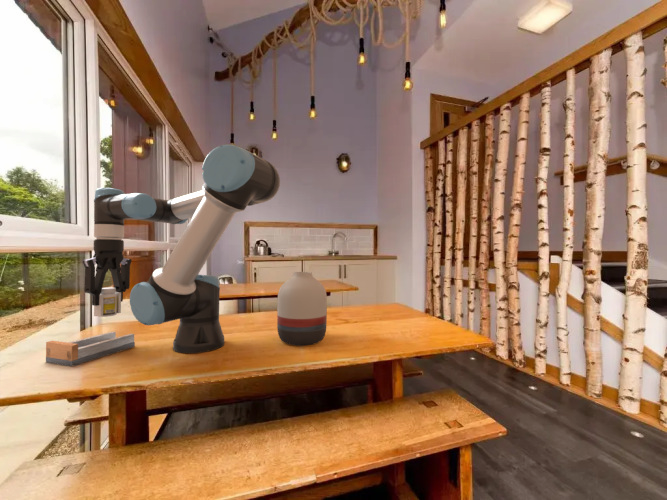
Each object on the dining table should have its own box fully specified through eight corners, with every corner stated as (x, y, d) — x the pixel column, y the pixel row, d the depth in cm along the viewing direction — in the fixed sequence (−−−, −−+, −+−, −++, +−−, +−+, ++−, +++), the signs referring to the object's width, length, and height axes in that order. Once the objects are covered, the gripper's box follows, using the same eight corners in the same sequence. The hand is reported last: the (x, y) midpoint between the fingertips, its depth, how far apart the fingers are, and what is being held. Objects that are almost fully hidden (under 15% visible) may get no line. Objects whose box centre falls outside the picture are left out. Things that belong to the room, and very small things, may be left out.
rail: (134, 346, 97) (134, 329, 97) (71, 366, 80) (71, 345, 80) (111, 343, 100) (111, 326, 100) (45, 362, 83) (46, 342, 83)
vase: (315, 351, 94) (316, 274, 94) (267, 345, 99) (268, 273, 100) (333, 337, 110) (333, 271, 110) (291, 332, 115) (291, 270, 116)
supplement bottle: (104, 313, 96) (105, 287, 96) (120, 313, 96) (120, 287, 96) (93, 317, 91) (94, 289, 91) (110, 316, 91) (111, 289, 92)
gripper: (127, 240, 103) (125, 308, 103) (68, 237, 86) (66, 319, 86) (144, 240, 101) (142, 310, 101) (87, 237, 84) (85, 321, 84)
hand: (107, 314), depth 94 cm, fingers closed on supplement bottle, 5 cm apart
